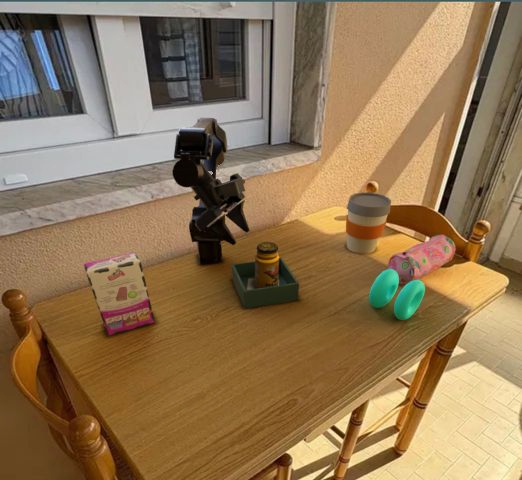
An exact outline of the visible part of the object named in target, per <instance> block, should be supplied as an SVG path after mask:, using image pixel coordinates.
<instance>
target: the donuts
mask: <svg viewBox="0 0 522 480" xmlns="http://www.w3.org/2000/svg"><path fill="white" fill-rule="evenodd" d="M399 285H400V284H399V276H398V274H397V272H396V271H395V270H393V269H388V268H386V269H385V270H383V271H381V272H380V273H379V275H377V277H376V278H375V279H374V281H373V283H372V285H371V287H370V291H369V295H368V301H369V304H370V306H372V307H373V308H375V309H379V308H383V307H385V306H386V305H388V304H389V303H390V302H391V301H392V299H393V298H394V297H395V294H396V292H397V290H398V288H399ZM425 292H426V285H425V283H424V282H423V281H422V280H419V279H417V280H413V281H411V282H409V283H407V284H404V286H403V287H402V289H401V290H400V291H399V293H398V295H397V296H396V299H395V301H394V305H393V313H394V316H395V318H397V319H398V320H400V321H406V320H409V318H411V317H412V316H413V315H414V314H415V313H416V311H417V310H418V308H419V307H420V306H421V303H422V301H423V298H424V296H425Z"/></svg>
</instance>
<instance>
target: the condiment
mask: <svg viewBox="0 0 522 480" xmlns="http://www.w3.org/2000/svg"><path fill="white" fill-rule="evenodd" d="M279 258H280V256H279V246H278V245H277V244H276V243H275V242H272V241H262V242H259V243H258V244H257V246H256V254H255V256H254V261H255V279H248V286H247V290H250V289H257V288H264V287H271V286H277V285H279V280H278V271H279Z"/></svg>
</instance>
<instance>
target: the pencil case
mask: <svg viewBox="0 0 522 480" xmlns="http://www.w3.org/2000/svg"><path fill="white" fill-rule="evenodd" d="M455 254H456V244H455V242H454V241H453V239H451V238H450V237H448V236H446V235H445V234H436V235H433V236H432V237H431V238H430V239H429V240H426V241H424V242H420V243H417V244H415V245H413V246H410V247H409V248H408V249H406V250H404V251H401V252H396V253H395V254H392V255H391V256H390V257H389V259H388V262H387V269H393V270H395V271H396V272H397V274H398V276H399V284H398V285H406V284H408V283H409V282H411V281H413V280H419V279H421V278H423V277H425V276H427V275H430V273H432V272H435V271H436V270H437V269H439V268H441V267H442V266H444V265H445V264H447V263H449V262H450V261H451V260H452V259H453V258H454V256H455Z"/></svg>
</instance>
